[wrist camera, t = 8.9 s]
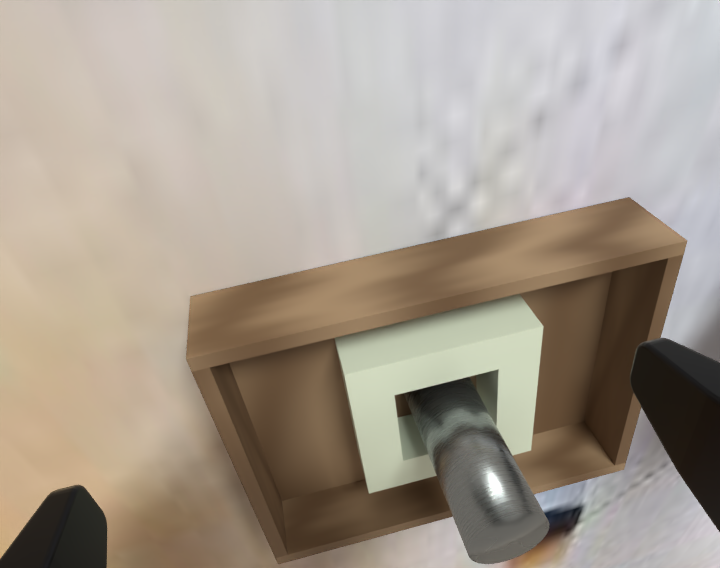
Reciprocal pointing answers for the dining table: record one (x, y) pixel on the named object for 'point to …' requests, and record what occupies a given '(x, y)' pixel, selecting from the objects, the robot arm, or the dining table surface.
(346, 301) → the crate
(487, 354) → the bore plate
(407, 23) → the dining table surface
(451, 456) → the peg
